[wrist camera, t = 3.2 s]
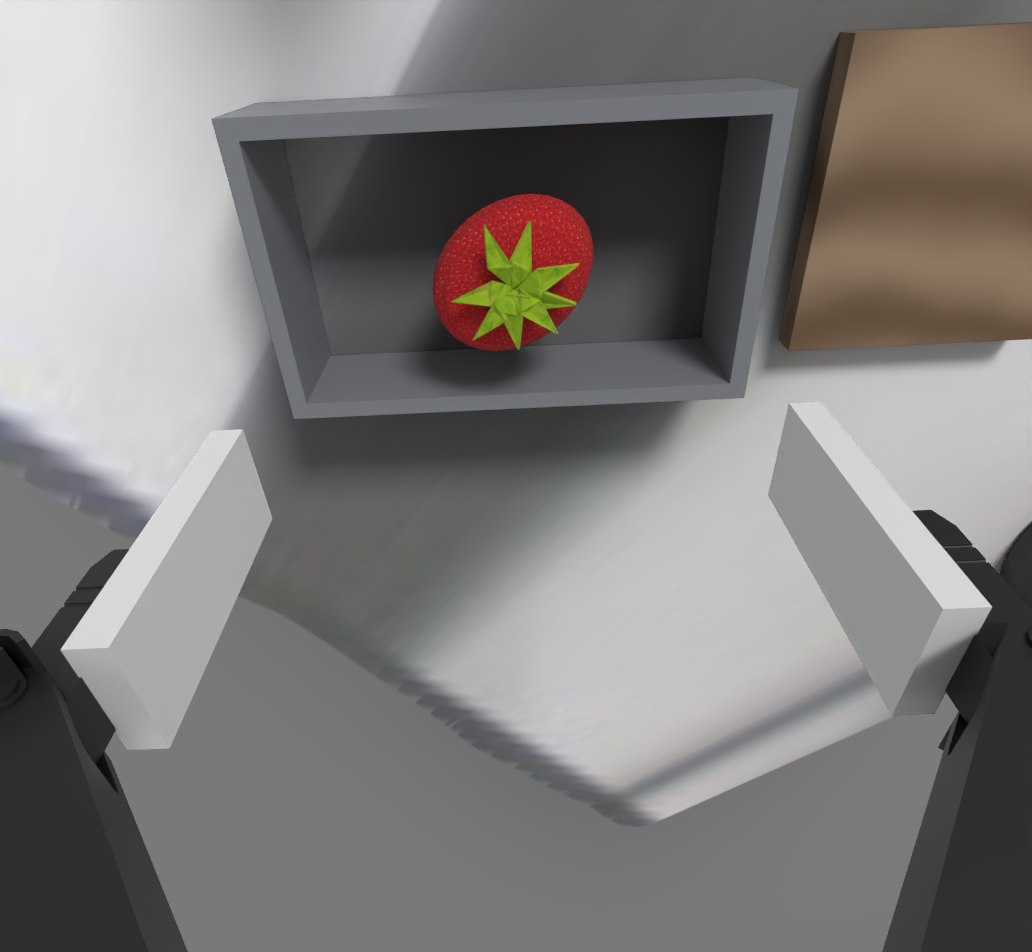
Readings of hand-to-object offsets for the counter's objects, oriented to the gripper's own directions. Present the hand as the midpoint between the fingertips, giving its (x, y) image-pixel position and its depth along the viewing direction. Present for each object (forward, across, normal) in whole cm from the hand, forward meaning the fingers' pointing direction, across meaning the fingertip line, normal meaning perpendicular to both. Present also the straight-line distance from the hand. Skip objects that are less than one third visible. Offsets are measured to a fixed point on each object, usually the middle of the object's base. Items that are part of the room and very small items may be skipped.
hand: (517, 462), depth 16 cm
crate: (+20, 0, 0) cm, 20 cm away
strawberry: (+20, 0, 0) cm, 20 cm away
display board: (+20, -21, -1) cm, 29 cm away
